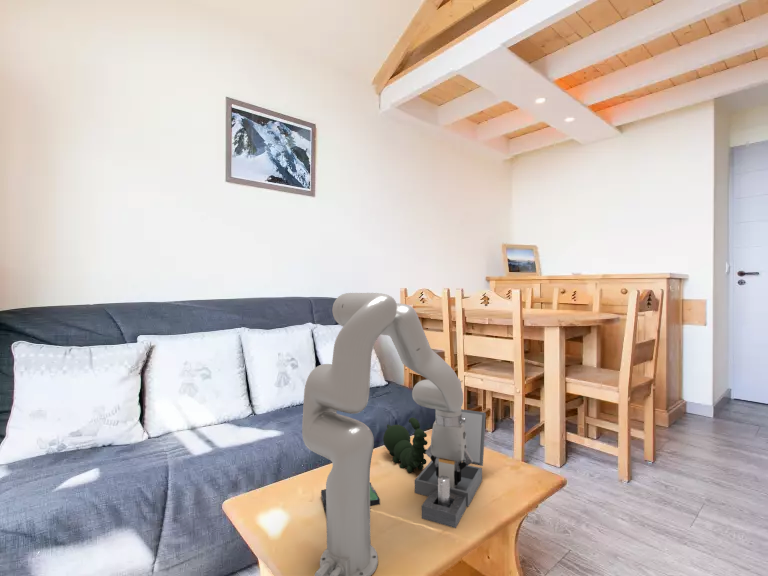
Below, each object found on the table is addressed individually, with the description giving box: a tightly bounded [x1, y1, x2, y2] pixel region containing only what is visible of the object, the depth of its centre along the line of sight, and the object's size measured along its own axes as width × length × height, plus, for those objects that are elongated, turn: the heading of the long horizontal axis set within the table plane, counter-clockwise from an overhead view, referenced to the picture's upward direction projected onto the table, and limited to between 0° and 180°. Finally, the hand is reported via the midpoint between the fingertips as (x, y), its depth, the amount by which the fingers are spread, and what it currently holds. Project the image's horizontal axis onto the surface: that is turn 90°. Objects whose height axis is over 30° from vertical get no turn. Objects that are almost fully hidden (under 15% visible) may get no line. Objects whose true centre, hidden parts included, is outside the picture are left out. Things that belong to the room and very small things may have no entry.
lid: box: [461, 408, 487, 467], centre depth 124 cm, size 16×16×1 cm
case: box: [414, 459, 483, 508], centre depth 115 cm, size 16×16×4 cm
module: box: [439, 458, 457, 488], centre depth 114 cm, size 4×4×8 cm
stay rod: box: [438, 476, 450, 508], centre depth 101 cm, size 3×3×10 cm
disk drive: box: [320, 481, 381, 514], centre depth 109 cm, size 10×3×15 cm
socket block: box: [421, 489, 467, 529], centre depth 101 cm, size 9×9×4 cm
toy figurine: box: [382, 417, 428, 473], centre depth 132 cm, size 9×19×25 cm
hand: (448, 480), depth 114 cm, fingers closed on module, 4 cm apart
